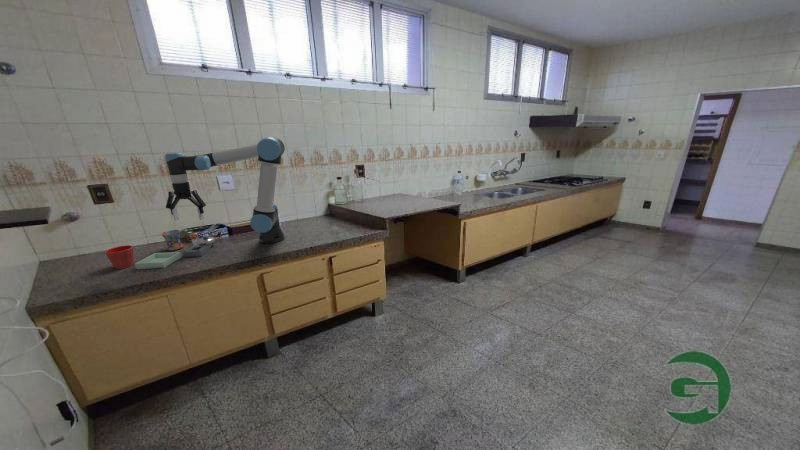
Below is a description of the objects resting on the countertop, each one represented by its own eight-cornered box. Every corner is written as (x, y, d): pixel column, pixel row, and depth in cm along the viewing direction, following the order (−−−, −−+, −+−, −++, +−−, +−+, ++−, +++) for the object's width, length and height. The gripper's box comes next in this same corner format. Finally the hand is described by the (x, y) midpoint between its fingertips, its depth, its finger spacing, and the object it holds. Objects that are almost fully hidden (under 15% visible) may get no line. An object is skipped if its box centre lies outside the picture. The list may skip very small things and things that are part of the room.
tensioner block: (219, 243, 187) (217, 233, 185) (201, 256, 169) (198, 245, 167) (203, 244, 187) (201, 234, 185) (183, 256, 168) (180, 246, 166)
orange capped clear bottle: (203, 251, 175) (198, 232, 172) (199, 254, 172) (194, 234, 168) (196, 252, 175) (191, 232, 172) (192, 254, 171) (187, 235, 168)
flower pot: (123, 261, 164) (118, 245, 161) (142, 261, 164) (137, 244, 161) (104, 270, 154) (98, 252, 151) (125, 270, 154) (119, 252, 151)
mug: (182, 250, 179) (178, 233, 176) (163, 252, 175) (159, 235, 172) (186, 243, 189) (182, 227, 186) (169, 246, 186) (164, 230, 182)
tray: (181, 257, 168) (180, 252, 168) (164, 267, 155) (162, 262, 154) (156, 258, 168) (154, 253, 167) (136, 268, 155) (134, 263, 154)
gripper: (207, 180, 165) (215, 217, 171) (161, 181, 164) (171, 218, 170) (199, 182, 158) (208, 220, 164) (151, 183, 157) (161, 222, 163)
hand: (189, 219), depth 167 cm, fingers open, 13 cm apart
